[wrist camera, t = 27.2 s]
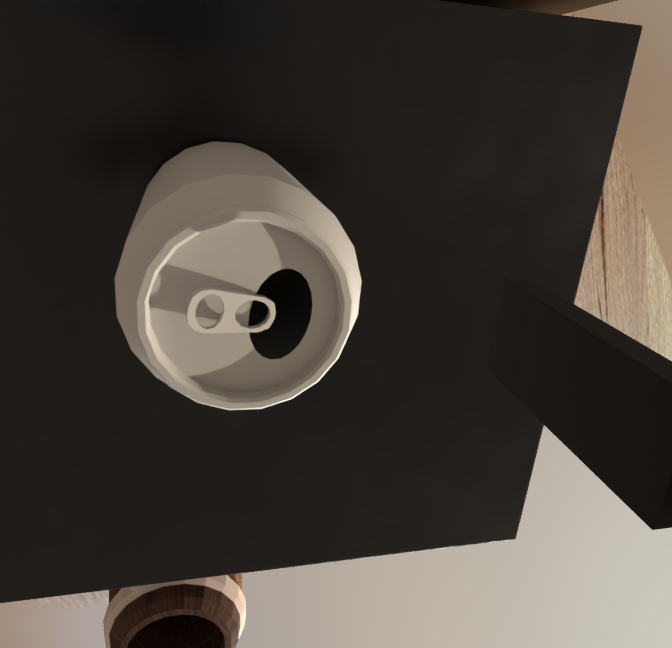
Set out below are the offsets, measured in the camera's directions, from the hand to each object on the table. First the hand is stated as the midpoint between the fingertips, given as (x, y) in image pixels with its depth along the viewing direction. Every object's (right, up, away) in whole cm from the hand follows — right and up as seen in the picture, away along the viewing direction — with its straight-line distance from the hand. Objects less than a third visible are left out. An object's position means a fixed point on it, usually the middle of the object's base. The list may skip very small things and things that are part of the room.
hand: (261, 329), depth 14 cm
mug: (-17, -21, +50) cm, 57 cm away
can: (-3, +5, +13) cm, 14 cm away
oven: (-10, +9, +38) cm, 40 cm away
